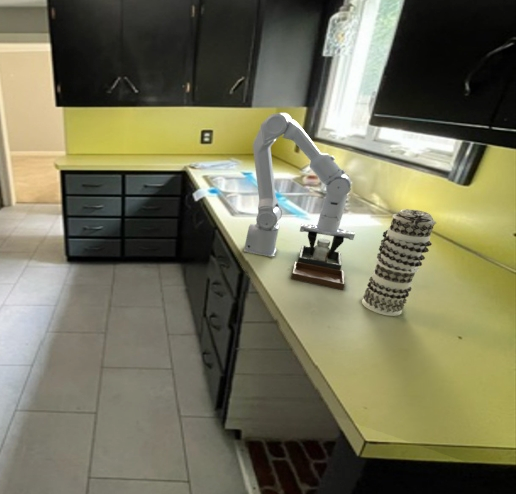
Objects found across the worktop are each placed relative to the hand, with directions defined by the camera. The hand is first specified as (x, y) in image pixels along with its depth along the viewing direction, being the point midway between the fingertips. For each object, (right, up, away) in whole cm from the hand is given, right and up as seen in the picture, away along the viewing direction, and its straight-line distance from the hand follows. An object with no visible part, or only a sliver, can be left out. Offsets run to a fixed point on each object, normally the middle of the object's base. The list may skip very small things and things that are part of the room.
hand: (319, 256), depth 114 cm
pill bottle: (0, -2, +1) cm, 3 cm away
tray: (-6, -6, -8) cm, 12 cm away
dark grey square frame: (0, -2, +1) cm, 2 cm away
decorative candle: (+3, -13, -22) cm, 26 cm away
